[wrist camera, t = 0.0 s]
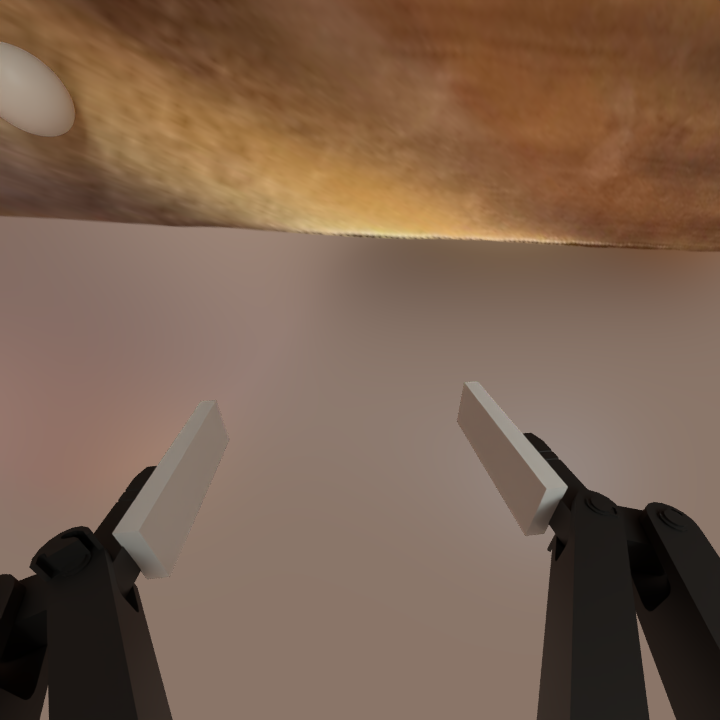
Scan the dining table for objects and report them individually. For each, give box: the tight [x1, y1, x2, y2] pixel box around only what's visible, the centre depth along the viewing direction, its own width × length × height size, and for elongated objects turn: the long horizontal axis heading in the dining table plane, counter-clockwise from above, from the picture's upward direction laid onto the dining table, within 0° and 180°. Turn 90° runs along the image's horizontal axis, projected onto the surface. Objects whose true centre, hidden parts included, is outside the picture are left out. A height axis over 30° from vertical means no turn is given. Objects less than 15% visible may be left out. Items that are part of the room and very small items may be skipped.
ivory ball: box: [0, 42, 75, 137], centre depth 22 cm, size 6×6×6 cm
